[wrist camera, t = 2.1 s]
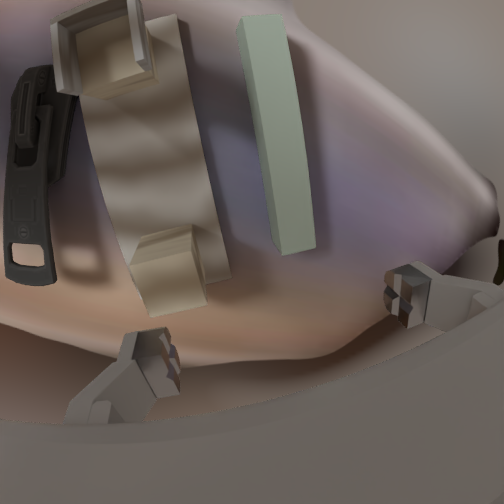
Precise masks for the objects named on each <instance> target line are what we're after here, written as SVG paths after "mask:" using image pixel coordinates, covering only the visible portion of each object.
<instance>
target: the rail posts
mask: <svg viewBox="0 0 504 504" xmlns="http://www.w3.org/2000/svg"><path fill="white" fill-rule="evenodd" d="M50 27H51V44H52V56H53V65H54V74H55V82H56V89H57V92H60V93H65V94H70V95H75V96H78V95H79V98H80V103H81V109H82V114H83V119H84V123H85V128H86V133H87V137H88V141H89V146H90V150H91V154H92V158H93V162H94V166H95V169H96V173H97V177H98V180H99V184H100V187H101V191H102V194H103V197H104V201H105V204H106V207H107V210H108V213H109V216H110V219H111V223H112V225H113V228H114V231H115V234H116V237H117V240H118V243H119V246H120V248H121V251H122V254H123V256H124V259H125V262H126V264H127V267H128V269H129V272H130V275H131V277H132V280H133V282H134V284H135V287H136V289H137V292H138V294H139V296H140V299H142V300H143V302H144V304H145V307H146V309H147V311H148V313H149V316H150V318H152V317H157V316H162V315H166V314H171V313H175V312H180V311H184V310H189V309H193V308H198V307H202V306H206V305H207V294H206V284H210V283H215V282H219V281H223V280H227V279H231V278H232V275H231V271H230V267H229V263H228V258H227V254H226V250H225V246H224V242H223V237H222V233H221V229H220V225H219V220H218V216H217V212H216V207H215V203H214V198H213V194H212V189H211V185H210V180H209V176H208V171H207V167H206V162H205V158H204V153H203V148H202V144H201V139H200V134H199V129H198V125H197V120H196V115H195V110H194V105H193V100H192V95H191V90H190V85H189V80H188V75H187V70H186V65H185V59H184V54H183V49H182V43H181V38H180V32H179V27H178V21H177V16H176V14H173V15H168V16H164V17H160V18H156V19H153V20H149V21H145V22H144V15H143V8H142V4H141V1H140V0H92V1H89V2H87V3H85V4H82V5H80V6H78V7H75V8H73V9H71V10H69V11H67V12H64V13H62V14H60V15H58V16H56V17H54V18H52V19H50Z"/></svg>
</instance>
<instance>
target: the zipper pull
mask: <svg viewBox="0 0 504 504" xmlns="http://www.w3.org/2000/svg"><path fill="white" fill-rule="evenodd" d="M77 97H78V96H75V95H70V94H65V93H60V92H57V89H56V82H55V74H54V65H43V66H37V67H32V68H29V69H27V70H25V72H24V74H23V75H22V76H21V77H20V78H19V81H18V83H17V85H16V88H15V90H14V92H13V95H12V97H11V130H10V137H9V146H8V155H7V168H6V178H5V191H4V212H3V248H4V265H5V276H6V278H8V279H10V280H12V281H14V282H16V283H20V284H24V285H30V286H45V285H50V284H54V283H55V282H56V281H57V275H56V269H55V263H54V255H53V248H52V242H51V232H50V222H49V208H48V187H49V186H51V185H52V184H54V183H55V182H56V181H58V180H59V179H61V178H62V177H64V175H65V169H66V160H67V152H68V144H69V138H70V131H71V125H72V120H73V115H74V110H75V105H76V101H77ZM13 243H22V244H37V245H41V247H42V249H43V250H44V262H45V265H43V266H39V267H37V266H27V265H20V264H18V263H15V262H14V261H13V256H12V244H13Z"/></svg>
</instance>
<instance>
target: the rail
mask: <svg viewBox="0 0 504 504" xmlns="http://www.w3.org/2000/svg"><path fill="white" fill-rule="evenodd" d="M236 34H237V39H238V44H239V50H240V55H241V60H242V65H243V71H244V76H245V81H246V87H247V92H248V98H249V103H250V109H251V114H252V120H253V126H254V132H255V137H256V143H257V149H258V155H259V161H260V167H261V173H262V179H263V185H264V191H265V197H266V204H267V210H268V216H269V223H270V229H271V236H272V241H273V242H274V244H275V245H276V247H277V248H278V250H279V252H280V253H281V255H282V256H285V255H289V254H293V253H297V252H301V251H305V250H310V249H314V248H316V241H315V230H314V219H313V208H312V199H311V189H310V181H309V172H308V164H307V156H306V148H305V141H304V134H303V127H302V120H301V114H300V107H299V101H298V95H297V89H296V83H295V78H294V72H293V67H292V62H291V56H290V51H289V46H288V41H287V36H286V32H285V27H284V23H283V18H282V14H270V15H253V16H242V18H241V20H240V22H239V24H238V26H237V29H236Z"/></svg>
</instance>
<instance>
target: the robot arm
mask: <svg viewBox="0 0 504 504" xmlns="http://www.w3.org/2000/svg"><path fill="white" fill-rule="evenodd" d="M384 282H385V283H386V285H387V287H386V289H385V291H384V303H385V306H386V308H387V310H388V311H389V312H390V313H391V314H393V315H397V316H398V321H399V322H400V323H401V324H402V325H403V326H404V327H405V328H406V329H409V328H411V327H414V326H416V325H419V324H421V323H425V324H427V325H430V326H432V327H435V328H438V329H440V330H442V331H445V332H446V333H444V334H442V335H440V336H438V337H436V338H434V339H432V340H430V341H428V342H426V343H424V344H422V345H420V346H417V347H415V348H413V349H411V350H409V351H407V352H405V353H402V354H400V355H398V356H396V357H393V358H391V359H389V360H386V361H384V362H382V363H379V364H376V365H374V366H372V367H369V368H367V369H364V370H362V371H359V372H356V373H354V374H351V375H348V376H345V377H343V378H340V379H337V380H334V381H331V382H328V383H325V384H322V385H319V386H316V387H313V388H310V389H306V390H303V391H299V392H296V393H293V394H289V395H285V396H282V397H278V398H275V399H271V400H267V401H263V402H259V403H254V404H250V405H245V406H241V407H236V408H232V409H226V410H221V411H216V412H210V413H205V414H199V415H193V416H186V417H180V418H171V419H163V420H154V421H143V420H144V418H145V417H146V415H147V414H148V412H149V411H150V409H151V408H152V406H153V405H154V403H155V402H156V400H157V399H156V398H162V397H168V396H174V395H179V394H180V379H179V377H178V374H179V373H180V360H179V356H178V352H177V350H176V347H175V346H174V345H172V344H171V335H170V333H169V330H168V328H167V327H160V328H155V329H149V330H142V331H136V332H131V333H127V334H125V335H124V338H123V342H122V345H121V348H120V352H119V355H118V359H117V362H114V363H112V364H111V365H110V366H109V367H107V368H106V369H105V370H104V371H103V372H102V373H101V374H100V375H99V376H97V377H96V378H95V379H94V380H93V381H92V382H91V383H90V384H89V385H88V386H86V387H85V388H84V389H83V390H82V391H81V392H80V393H79V394H78V395H77V396H75V397H74V398H73V399H72V400H71V401H70V403H69V406H68V409H67V412H66V415H65V418H64V421H63V424H48V423H32V422H22V421H12V420H4V419H0V504H504V290H503V289H501V288H500V287H498V286H497V285H495V284H494V283H488V282H483V281H477V280H471V279H466V278H460V277H454V276H449V275H444V276H442V275H441V274H439V273H438V272H436V271H434V270H433V269H431V268H430V267H428V266H426V265H425V264H423V263H422V262H420V261H414V262H412V263H409V264H406V265H404V266H401V267H398V268H395V269H392V270H389V271H386V274H385V279H384ZM142 421H143V422H142Z"/></svg>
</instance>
